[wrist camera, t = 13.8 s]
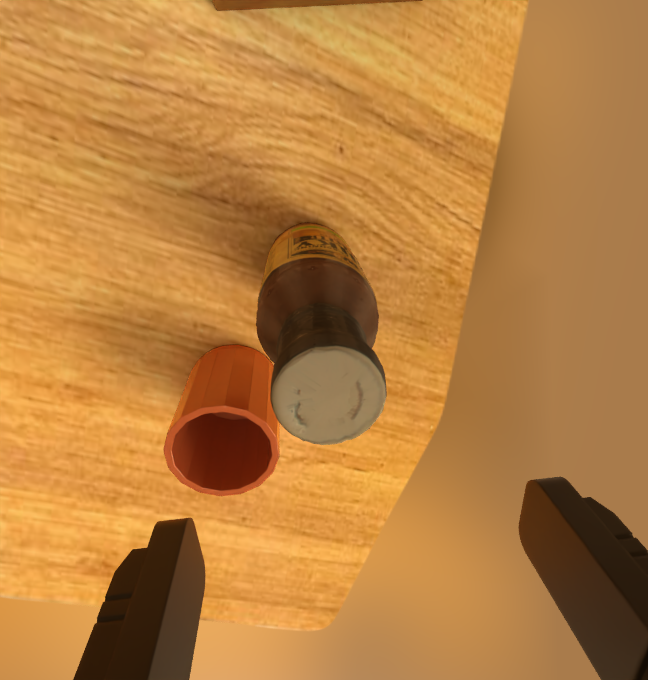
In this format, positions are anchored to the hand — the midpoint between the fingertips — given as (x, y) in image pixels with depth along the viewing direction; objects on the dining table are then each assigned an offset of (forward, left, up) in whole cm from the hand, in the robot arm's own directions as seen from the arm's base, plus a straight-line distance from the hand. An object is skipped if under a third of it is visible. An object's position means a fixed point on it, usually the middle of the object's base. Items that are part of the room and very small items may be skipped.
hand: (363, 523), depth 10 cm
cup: (+7, +10, -25) cm, 28 cm away
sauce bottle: (0, 0, -25) cm, 25 cm away
